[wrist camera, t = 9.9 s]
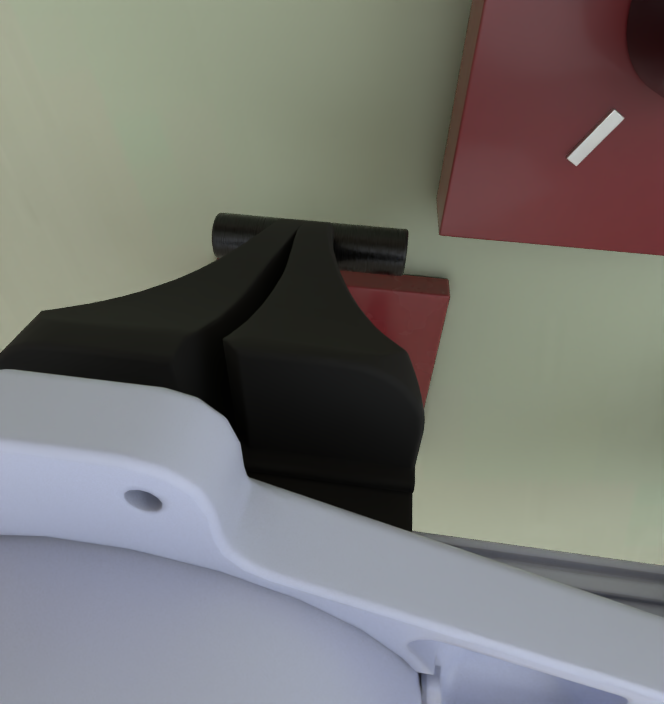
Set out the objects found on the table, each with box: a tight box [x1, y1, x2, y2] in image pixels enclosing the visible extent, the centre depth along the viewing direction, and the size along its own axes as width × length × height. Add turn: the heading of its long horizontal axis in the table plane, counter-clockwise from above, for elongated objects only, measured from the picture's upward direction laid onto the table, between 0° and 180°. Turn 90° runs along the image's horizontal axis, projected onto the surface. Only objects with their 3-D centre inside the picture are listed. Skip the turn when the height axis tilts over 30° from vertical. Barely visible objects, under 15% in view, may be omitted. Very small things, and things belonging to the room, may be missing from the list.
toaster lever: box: [212, 213, 408, 276], centre depth 16 cm, size 11×5×2 cm, turn 178°
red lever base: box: [216, 258, 450, 408], centre depth 20 cm, size 11×9×7 cm
